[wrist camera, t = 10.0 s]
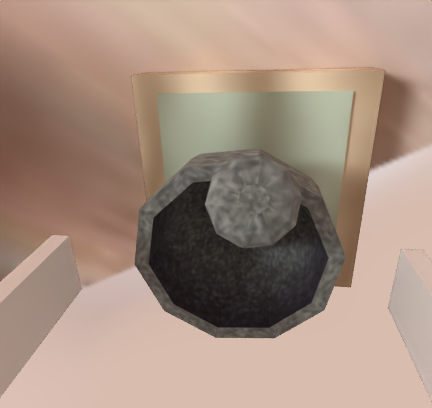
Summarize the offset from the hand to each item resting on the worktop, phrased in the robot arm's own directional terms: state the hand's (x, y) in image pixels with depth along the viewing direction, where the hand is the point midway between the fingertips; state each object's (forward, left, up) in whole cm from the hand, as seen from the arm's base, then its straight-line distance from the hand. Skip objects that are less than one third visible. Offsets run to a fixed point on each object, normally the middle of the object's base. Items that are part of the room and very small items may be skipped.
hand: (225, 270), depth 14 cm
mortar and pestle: (0, 0, -9) cm, 9 cm away
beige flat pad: (0, 0, -12) cm, 12 cm away
